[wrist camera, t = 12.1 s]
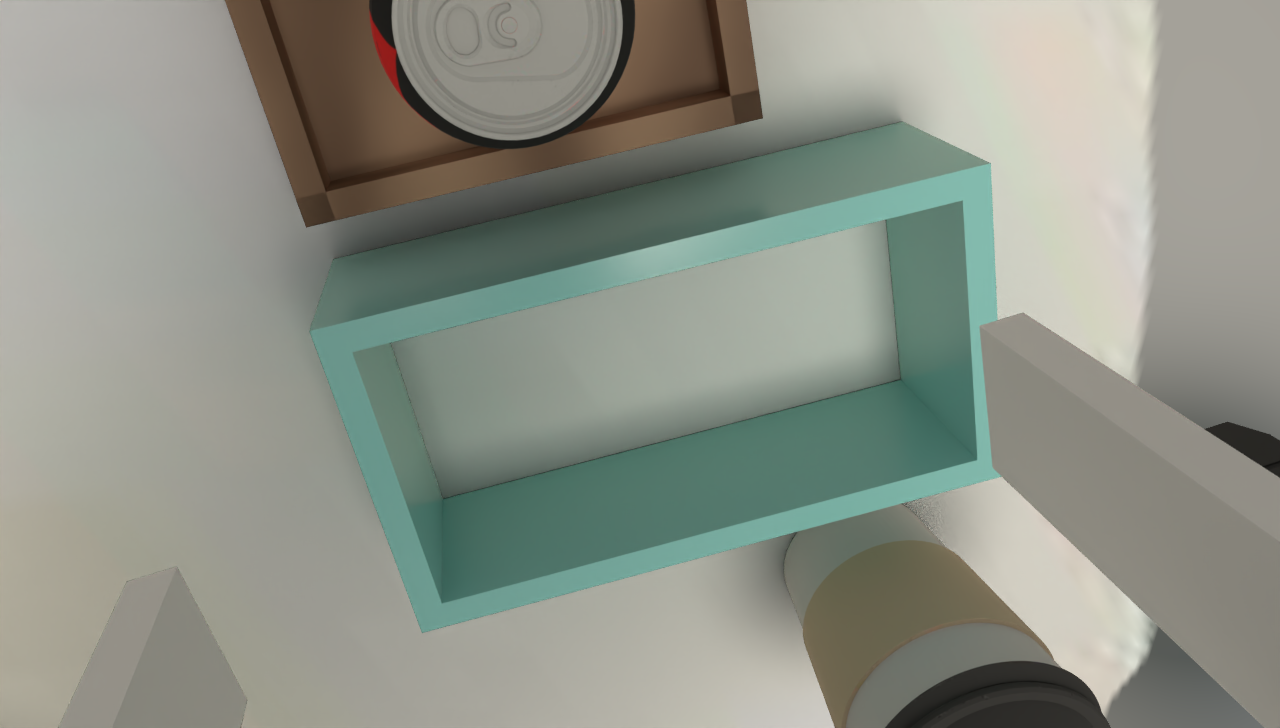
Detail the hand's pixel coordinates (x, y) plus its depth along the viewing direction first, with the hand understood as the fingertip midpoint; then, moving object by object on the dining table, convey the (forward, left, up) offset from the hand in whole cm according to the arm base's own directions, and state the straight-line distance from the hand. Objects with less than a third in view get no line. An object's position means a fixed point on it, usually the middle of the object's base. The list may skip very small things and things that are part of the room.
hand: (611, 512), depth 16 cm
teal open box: (+4, -8, -23) cm, 24 cm away
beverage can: (+1, +6, -22) cm, 23 cm away
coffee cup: (+11, -21, -23) cm, 33 cm away
